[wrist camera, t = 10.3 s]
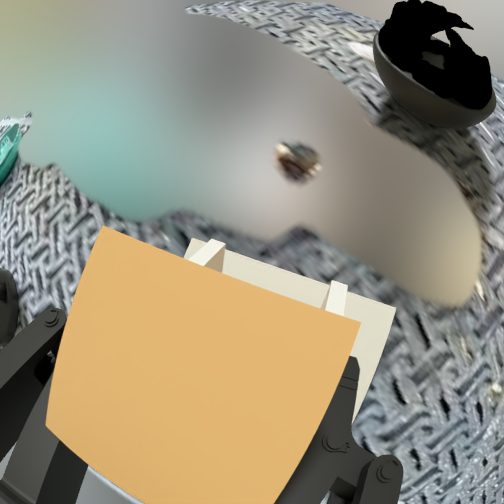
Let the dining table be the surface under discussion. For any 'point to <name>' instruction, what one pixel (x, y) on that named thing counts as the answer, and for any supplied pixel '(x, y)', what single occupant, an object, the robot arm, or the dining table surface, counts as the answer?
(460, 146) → the dining table surface
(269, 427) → the tan upright carton
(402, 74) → the coal bowl
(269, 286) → the plate
